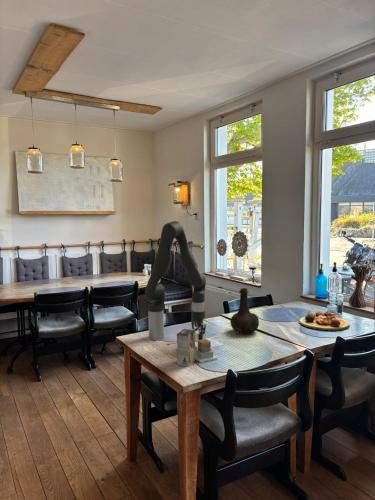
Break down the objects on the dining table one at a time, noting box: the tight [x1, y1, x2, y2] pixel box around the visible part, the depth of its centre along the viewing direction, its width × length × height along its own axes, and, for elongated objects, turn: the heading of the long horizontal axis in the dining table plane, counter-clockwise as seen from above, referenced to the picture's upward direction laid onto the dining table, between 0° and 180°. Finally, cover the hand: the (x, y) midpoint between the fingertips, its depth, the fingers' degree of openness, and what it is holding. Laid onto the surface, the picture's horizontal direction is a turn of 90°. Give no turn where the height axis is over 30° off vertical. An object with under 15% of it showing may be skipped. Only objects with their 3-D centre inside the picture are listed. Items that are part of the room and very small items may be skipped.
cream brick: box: [195, 330, 205, 344], centre depth 213 cm, size 5×5×5 cm
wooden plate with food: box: [298, 311, 350, 332], centre depth 255 cm, size 32×32×8 cm
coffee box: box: [176, 328, 196, 367], centre depth 192 cm, size 9×6×16 cm
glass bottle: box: [229, 287, 260, 335], centre depth 239 cm, size 18×18×28 cm
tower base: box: [195, 348, 218, 363], centre depth 198 cm, size 10×10×4 cm
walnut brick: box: [197, 338, 212, 353], centre depth 197 cm, size 5×5×5 cm
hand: (198, 338), depth 214 cm, fingers closed on cream brick, 5 cm apart
